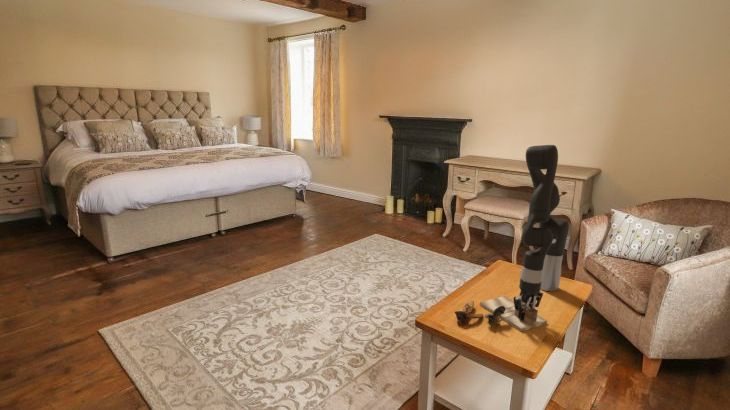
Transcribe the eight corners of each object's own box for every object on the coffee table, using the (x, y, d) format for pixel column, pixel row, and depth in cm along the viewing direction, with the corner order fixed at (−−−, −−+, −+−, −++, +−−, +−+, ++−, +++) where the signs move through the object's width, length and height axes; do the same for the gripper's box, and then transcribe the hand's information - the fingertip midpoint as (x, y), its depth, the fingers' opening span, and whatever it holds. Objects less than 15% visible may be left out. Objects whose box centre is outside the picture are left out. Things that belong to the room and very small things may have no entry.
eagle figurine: (507, 328, 147) (509, 313, 155) (498, 313, 146) (500, 299, 154) (488, 332, 151) (491, 318, 159) (479, 318, 150) (483, 304, 158)
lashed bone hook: (475, 332, 147) (486, 310, 162) (476, 321, 146) (487, 300, 161) (451, 324, 152) (464, 303, 167) (452, 313, 150) (465, 293, 165)
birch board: (504, 298, 172) (504, 295, 172) (546, 323, 154) (547, 320, 153) (479, 304, 166) (479, 302, 166) (521, 331, 147) (521, 328, 147)
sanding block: (521, 313, 158) (523, 302, 157) (536, 322, 152) (537, 310, 151) (514, 315, 156) (516, 304, 155) (528, 324, 150) (530, 312, 149)
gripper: (536, 271, 156) (530, 310, 160) (509, 277, 150) (504, 317, 154) (552, 278, 149) (545, 319, 154) (525, 285, 143) (519, 327, 148)
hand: (525, 318), depth 154 cm, fingers closed on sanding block, 4 cm apart
